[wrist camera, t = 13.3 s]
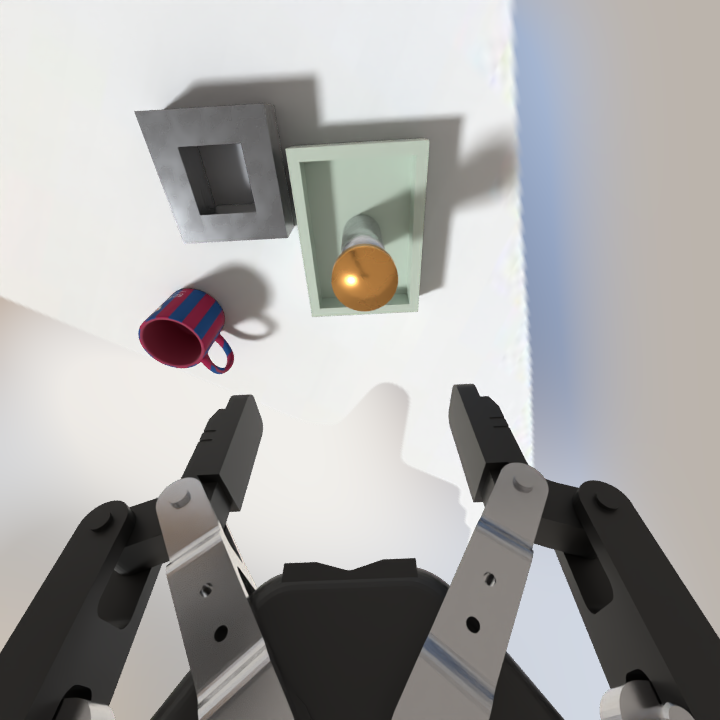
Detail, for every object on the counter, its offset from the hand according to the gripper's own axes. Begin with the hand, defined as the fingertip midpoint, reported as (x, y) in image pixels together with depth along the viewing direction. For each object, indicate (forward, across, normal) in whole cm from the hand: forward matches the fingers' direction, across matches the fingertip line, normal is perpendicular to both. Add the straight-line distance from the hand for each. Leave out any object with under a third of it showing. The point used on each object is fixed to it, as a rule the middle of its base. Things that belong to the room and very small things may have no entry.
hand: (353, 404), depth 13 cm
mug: (+26, +19, +11) cm, 34 cm away
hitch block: (+26, +11, -5) cm, 29 cm away
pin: (+25, -1, +1) cm, 25 cm away
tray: (+26, -1, +1) cm, 26 cm away
